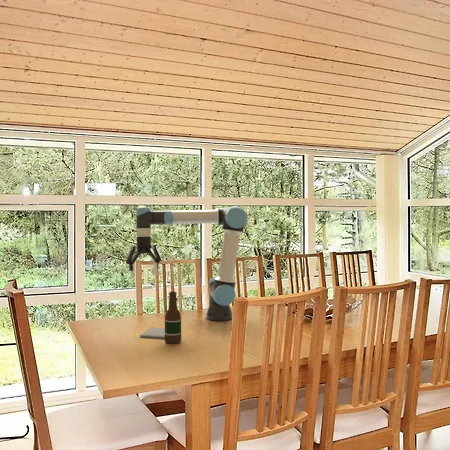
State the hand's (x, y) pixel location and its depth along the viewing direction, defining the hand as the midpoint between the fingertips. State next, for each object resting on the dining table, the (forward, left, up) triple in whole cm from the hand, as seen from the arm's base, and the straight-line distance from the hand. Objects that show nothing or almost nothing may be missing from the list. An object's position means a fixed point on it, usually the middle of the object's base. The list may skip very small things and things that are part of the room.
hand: (144, 275), depth 254 cm
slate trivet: (-14, +12, -27) cm, 33 cm away
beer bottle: (-25, +25, -28) cm, 45 cm away
